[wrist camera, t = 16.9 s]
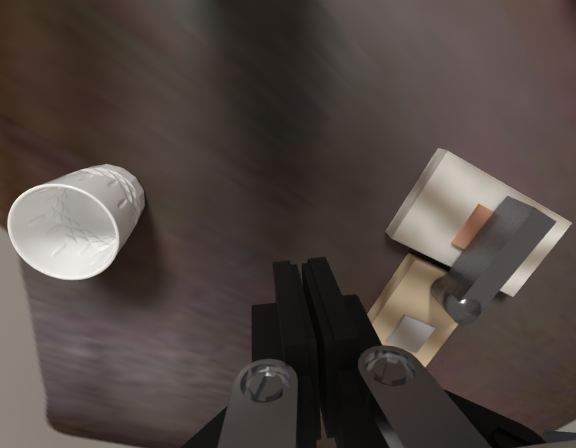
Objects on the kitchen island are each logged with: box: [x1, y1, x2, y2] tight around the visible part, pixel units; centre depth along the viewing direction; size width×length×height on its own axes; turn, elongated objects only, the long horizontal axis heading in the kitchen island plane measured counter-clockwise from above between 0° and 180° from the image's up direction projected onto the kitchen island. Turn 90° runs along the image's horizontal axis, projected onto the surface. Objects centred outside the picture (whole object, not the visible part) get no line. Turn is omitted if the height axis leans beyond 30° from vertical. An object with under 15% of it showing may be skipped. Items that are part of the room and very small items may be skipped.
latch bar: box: [431, 196, 557, 325], centre depth 38 cm, size 14×3×5 cm, turn 150°
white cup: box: [8, 164, 145, 280], centre depth 32 cm, size 8×8×10 cm
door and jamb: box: [367, 148, 572, 367], centre depth 43 cm, size 26×18×2 cm
